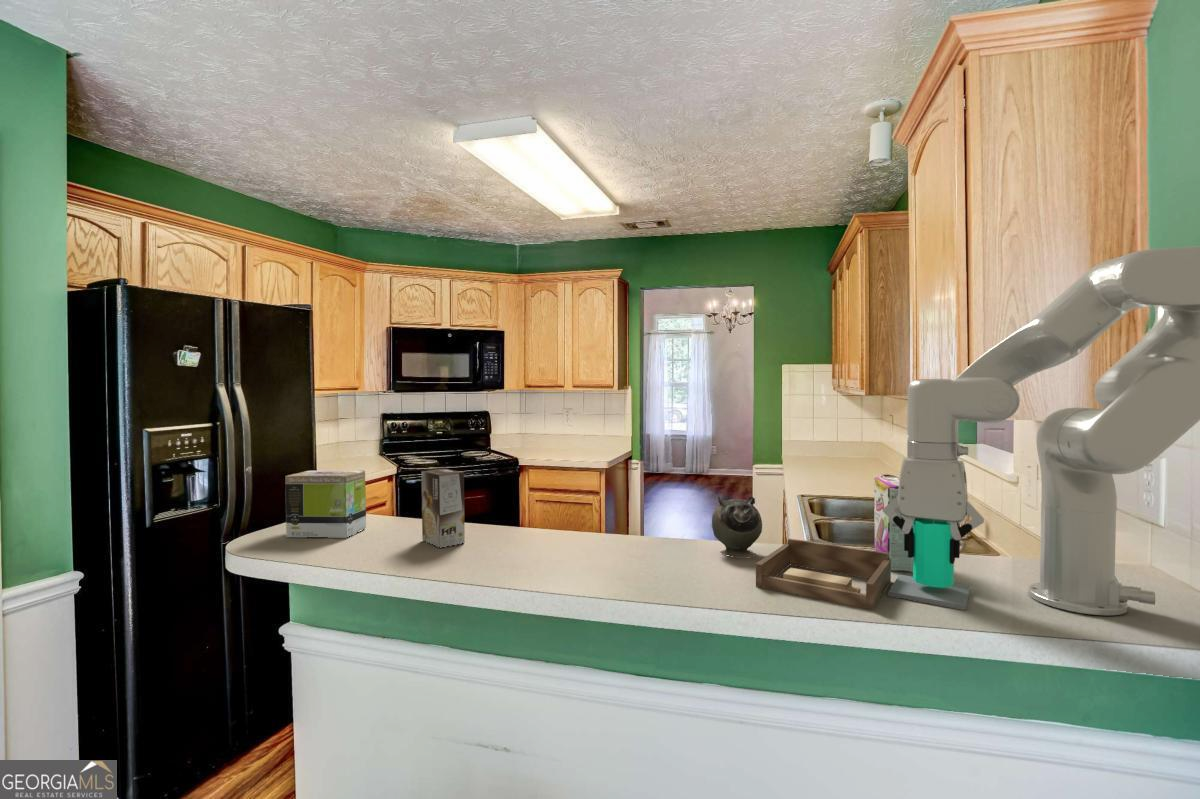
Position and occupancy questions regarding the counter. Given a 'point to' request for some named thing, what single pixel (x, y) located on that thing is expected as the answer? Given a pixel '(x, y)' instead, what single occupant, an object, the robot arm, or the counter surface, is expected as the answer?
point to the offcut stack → (820, 579)
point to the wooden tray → (828, 560)
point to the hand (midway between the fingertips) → (931, 557)
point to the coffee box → (443, 507)
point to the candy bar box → (889, 526)
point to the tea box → (325, 503)
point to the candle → (932, 553)
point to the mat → (930, 593)
